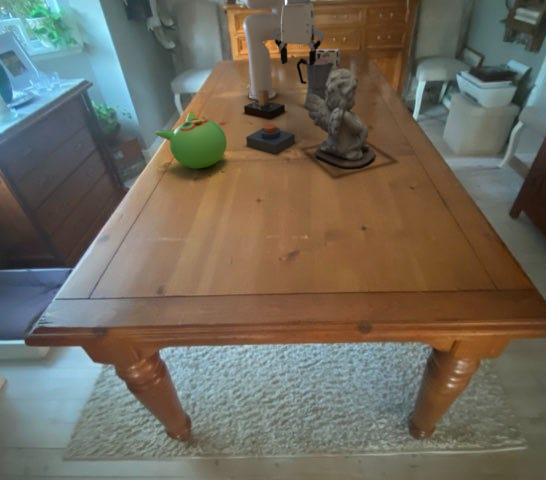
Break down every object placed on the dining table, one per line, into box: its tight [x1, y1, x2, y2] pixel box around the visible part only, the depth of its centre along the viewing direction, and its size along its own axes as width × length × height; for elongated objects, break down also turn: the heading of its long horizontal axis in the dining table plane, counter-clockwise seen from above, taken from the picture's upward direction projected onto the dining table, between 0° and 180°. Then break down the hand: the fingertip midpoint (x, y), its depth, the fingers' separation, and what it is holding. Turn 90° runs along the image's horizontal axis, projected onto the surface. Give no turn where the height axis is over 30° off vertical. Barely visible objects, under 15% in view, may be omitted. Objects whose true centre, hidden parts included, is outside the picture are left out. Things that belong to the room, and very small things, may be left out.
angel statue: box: [306, 67, 377, 170], centre depth 105 cm, size 22×22×25 cm
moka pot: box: [296, 53, 334, 108], centre depth 143 cm, size 10×15×20 cm, turn 78°
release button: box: [263, 123, 277, 133], centre depth 119 cm, size 4×4×2 cm
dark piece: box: [245, 126, 296, 155], centre depth 121 cm, size 13×11×5 cm
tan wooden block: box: [258, 90, 270, 107], centre depth 142 cm, size 4×4×6 cm
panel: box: [243, 100, 286, 120], centre depth 145 cm, size 14×10×3 cm
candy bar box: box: [316, 47, 341, 91], centre depth 163 cm, size 11×5×16 cm, turn 68°
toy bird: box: [155, 110, 228, 170], centre depth 108 cm, size 18×17×15 cm
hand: (298, 63), depth 114 cm, fingers open, 9 cm apart
